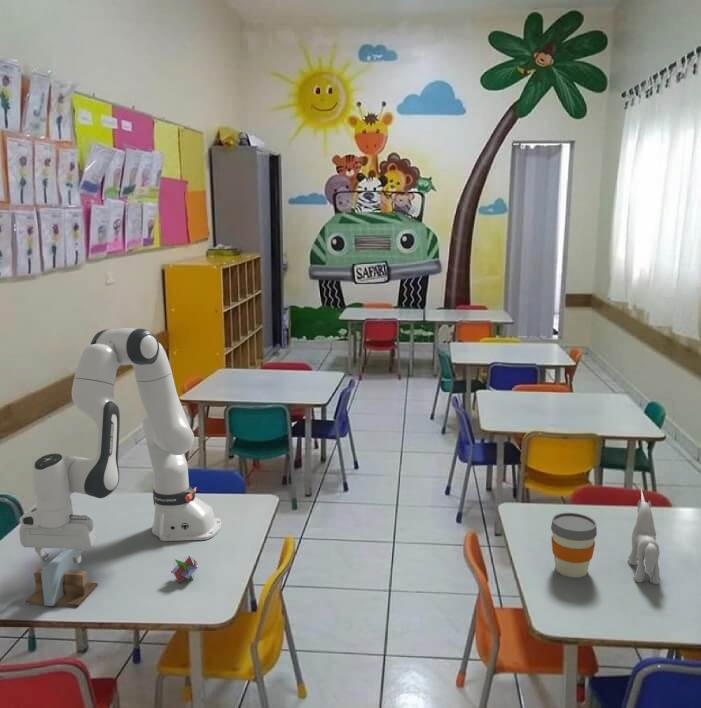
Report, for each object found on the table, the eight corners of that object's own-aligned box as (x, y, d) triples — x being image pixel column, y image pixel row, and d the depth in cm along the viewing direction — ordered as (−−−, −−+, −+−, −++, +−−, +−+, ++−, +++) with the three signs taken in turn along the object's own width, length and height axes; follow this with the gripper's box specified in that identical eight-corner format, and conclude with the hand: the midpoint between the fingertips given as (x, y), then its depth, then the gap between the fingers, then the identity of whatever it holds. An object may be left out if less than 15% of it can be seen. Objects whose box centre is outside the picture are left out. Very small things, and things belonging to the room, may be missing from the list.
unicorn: (649, 548, 217) (654, 488, 212) (664, 591, 193) (670, 524, 189) (623, 546, 218) (627, 485, 214) (635, 588, 195) (640, 521, 190)
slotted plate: (71, 578, 201) (68, 545, 199) (79, 578, 201) (76, 546, 199) (44, 605, 188) (40, 571, 186) (53, 605, 187) (49, 571, 185)
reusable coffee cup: (540, 568, 206) (542, 520, 203) (564, 554, 214) (567, 508, 210) (578, 585, 196) (581, 536, 193) (602, 570, 204) (606, 522, 201)
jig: (97, 585, 199) (95, 563, 197) (78, 607, 188) (76, 584, 187) (47, 582, 201) (45, 560, 199) (25, 603, 190) (23, 580, 189)
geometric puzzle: (179, 584, 195) (190, 556, 197) (162, 578, 198) (173, 550, 201) (195, 589, 200) (206, 561, 203) (177, 582, 204) (188, 555, 207)
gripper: (97, 510, 191) (102, 556, 194) (26, 508, 194) (32, 554, 197) (86, 521, 185) (91, 568, 188) (13, 518, 188) (20, 565, 191)
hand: (61, 561), depth 193 cm, fingers open, 8 cm apart
